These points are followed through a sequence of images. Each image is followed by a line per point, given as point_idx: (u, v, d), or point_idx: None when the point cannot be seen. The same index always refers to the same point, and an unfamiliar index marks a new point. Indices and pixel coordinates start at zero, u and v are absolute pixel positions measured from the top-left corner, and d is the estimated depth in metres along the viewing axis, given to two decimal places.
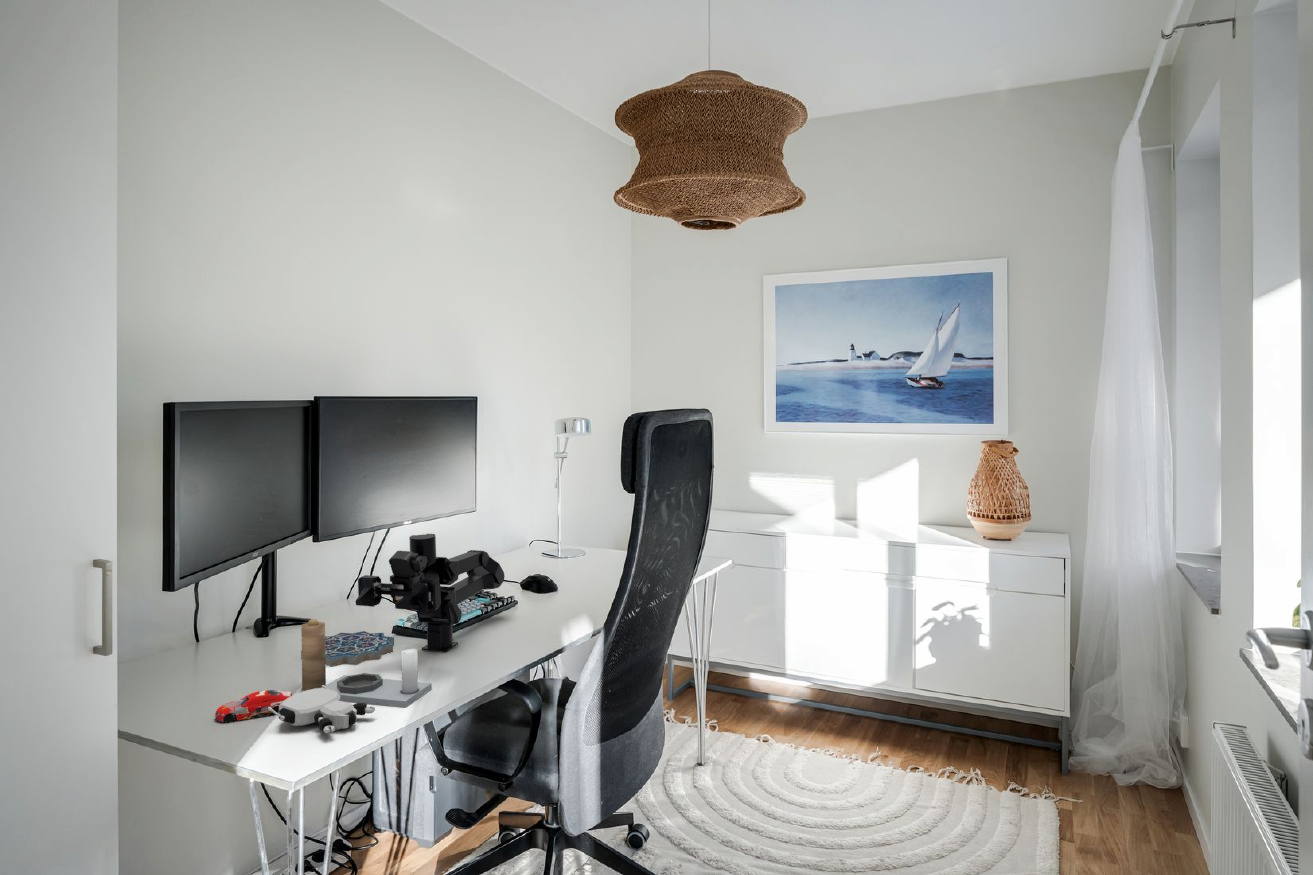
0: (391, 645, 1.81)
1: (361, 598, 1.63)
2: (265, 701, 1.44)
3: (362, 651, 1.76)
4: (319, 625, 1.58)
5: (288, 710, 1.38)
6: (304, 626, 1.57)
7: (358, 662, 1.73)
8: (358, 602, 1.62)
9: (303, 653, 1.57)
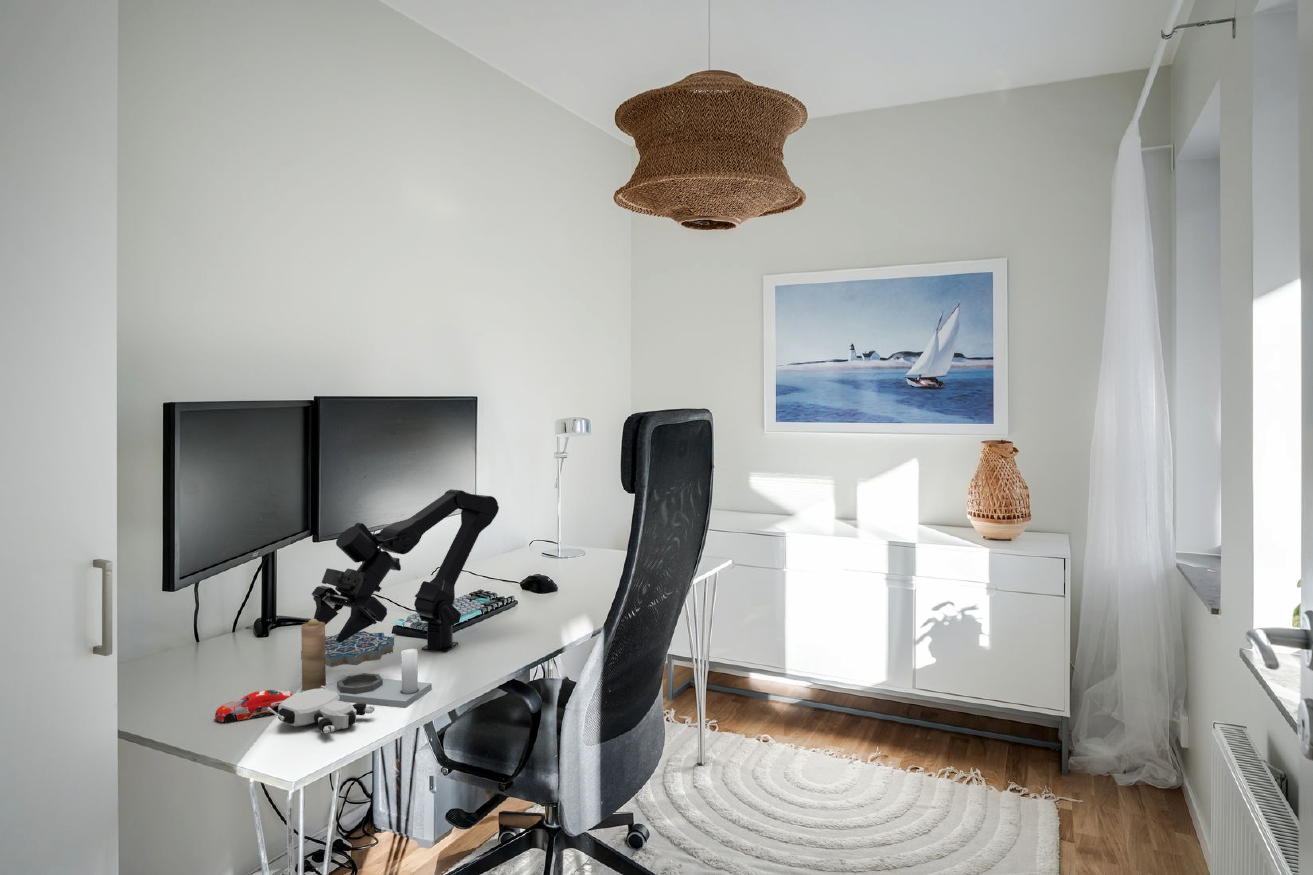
0: (391, 645, 1.81)
1: None
2: (266, 701, 1.44)
3: (362, 651, 1.76)
4: (319, 625, 1.58)
5: (287, 710, 1.38)
6: (304, 626, 1.57)
7: (358, 662, 1.73)
8: None
9: (303, 653, 1.57)
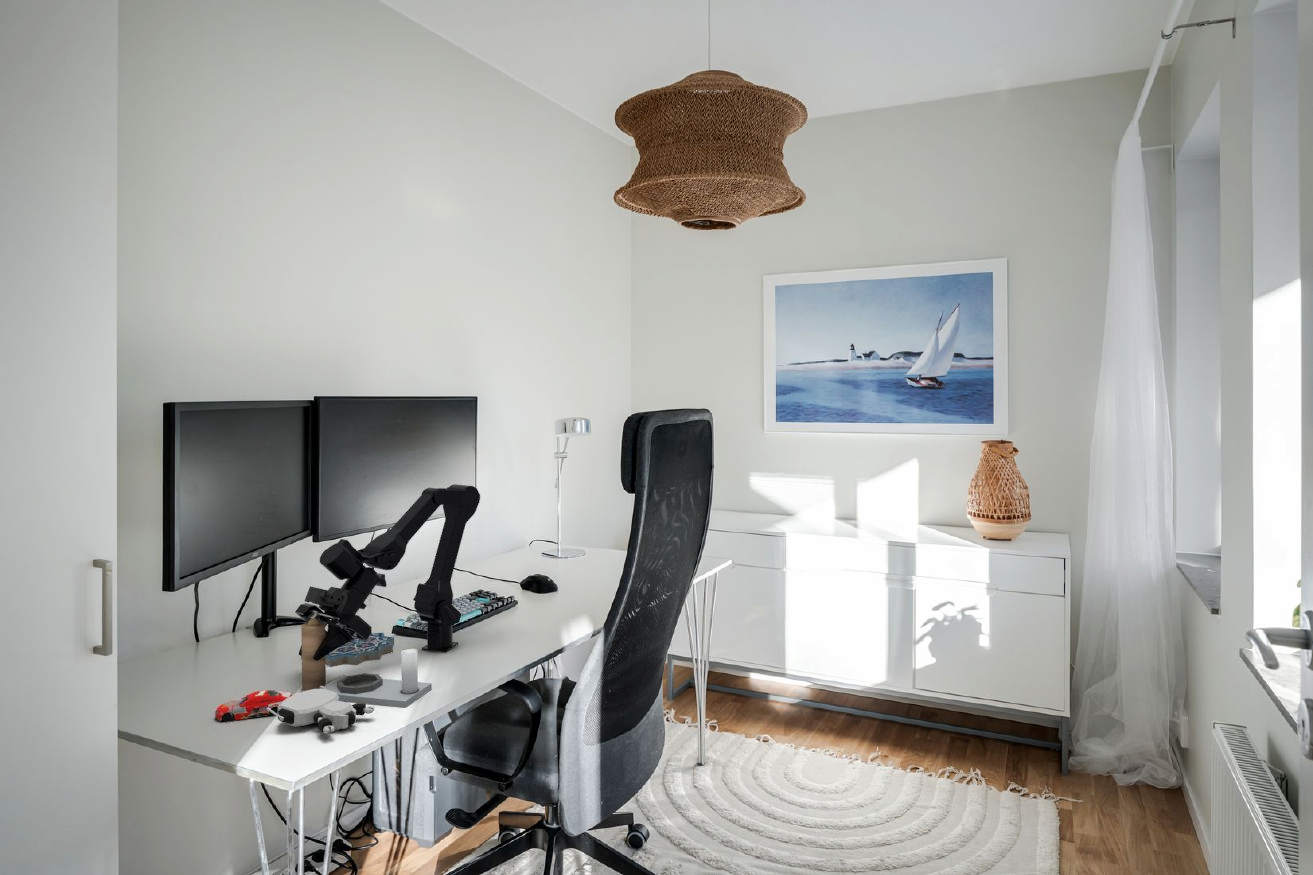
0: (391, 645, 1.81)
1: None
2: (264, 701, 1.44)
3: (362, 651, 1.76)
4: (319, 625, 1.57)
5: (287, 710, 1.37)
6: (304, 626, 1.57)
7: (358, 662, 1.73)
8: None
9: (303, 653, 1.57)
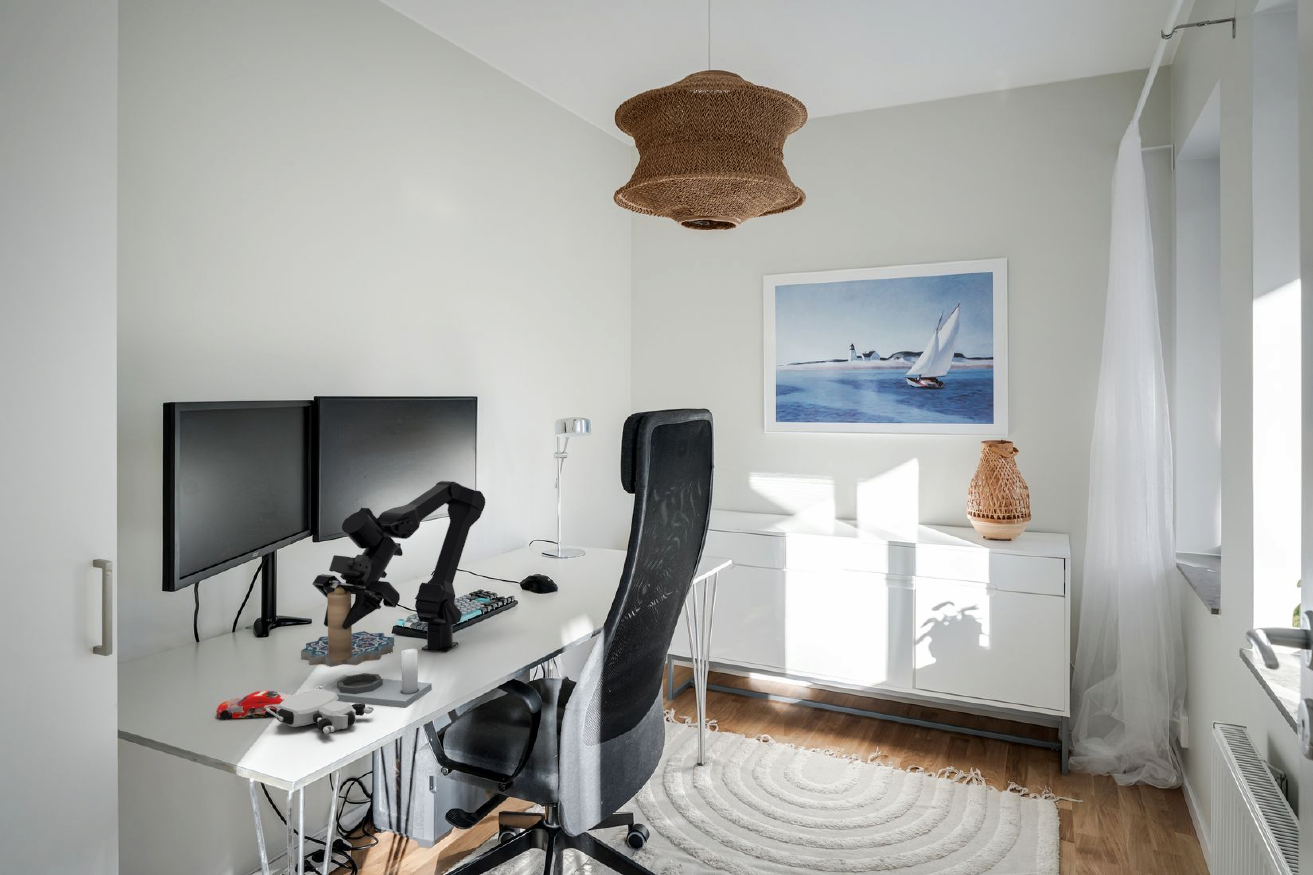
0: (391, 645, 1.81)
1: None
2: (260, 702, 1.44)
3: (362, 651, 1.76)
4: (346, 594, 1.56)
5: (286, 711, 1.37)
6: (331, 595, 1.54)
7: (358, 662, 1.73)
8: (327, 624, 1.56)
9: (330, 622, 1.54)
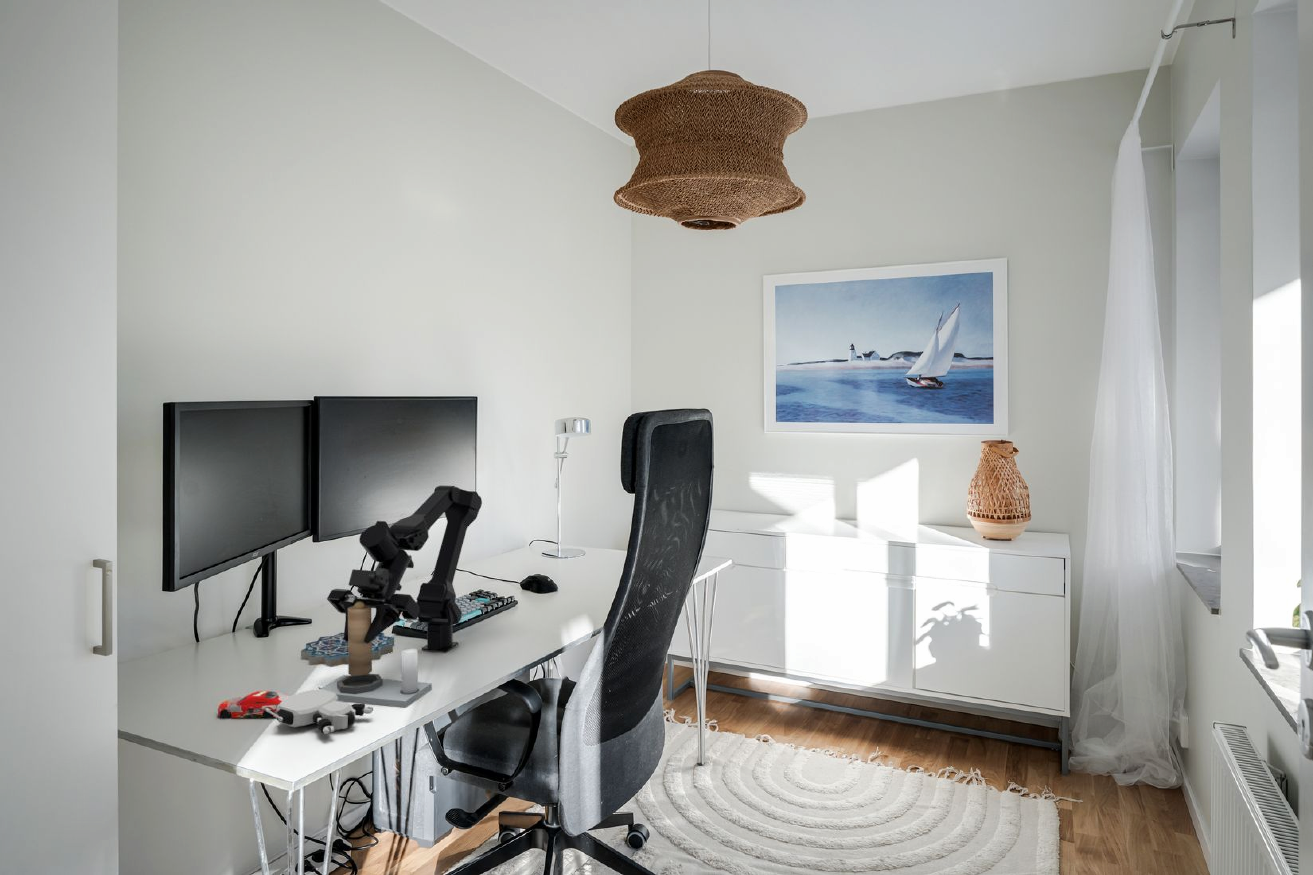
0: (391, 645, 1.81)
1: None
2: (258, 703, 1.43)
3: None
4: (367, 607, 1.56)
5: (286, 711, 1.37)
6: (352, 609, 1.54)
7: None
8: (347, 638, 1.56)
9: (352, 637, 1.54)
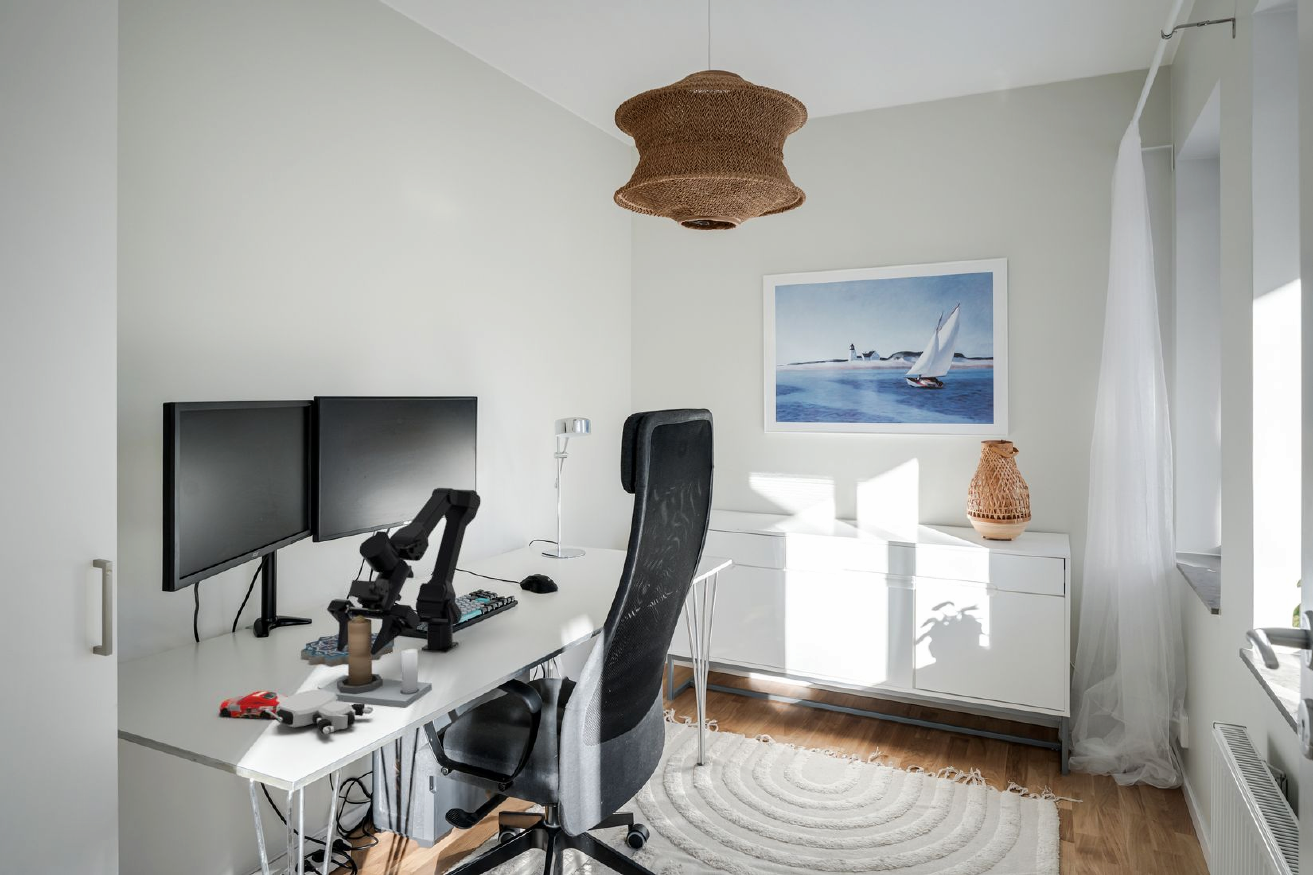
0: (391, 645, 1.81)
1: (341, 642, 1.56)
2: (256, 703, 1.43)
3: None
4: (367, 621, 1.56)
5: (285, 711, 1.37)
6: (352, 623, 1.54)
7: None
8: (340, 648, 1.56)
9: (352, 651, 1.54)
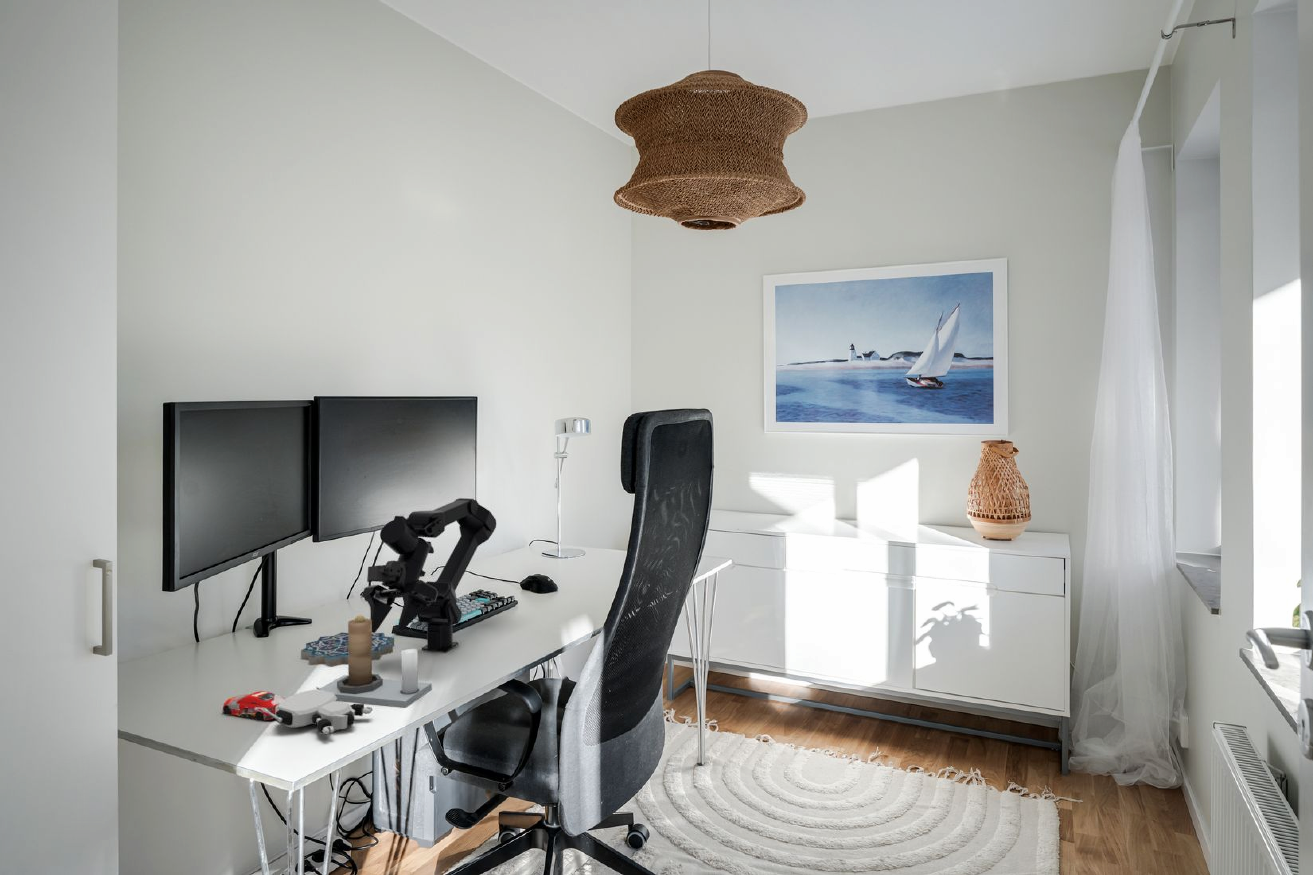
0: (391, 645, 1.81)
1: (373, 624, 1.68)
2: (253, 703, 1.43)
3: None
4: (367, 621, 1.56)
5: (285, 711, 1.37)
6: (353, 623, 1.54)
7: None
8: (373, 630, 1.67)
9: (352, 651, 1.54)
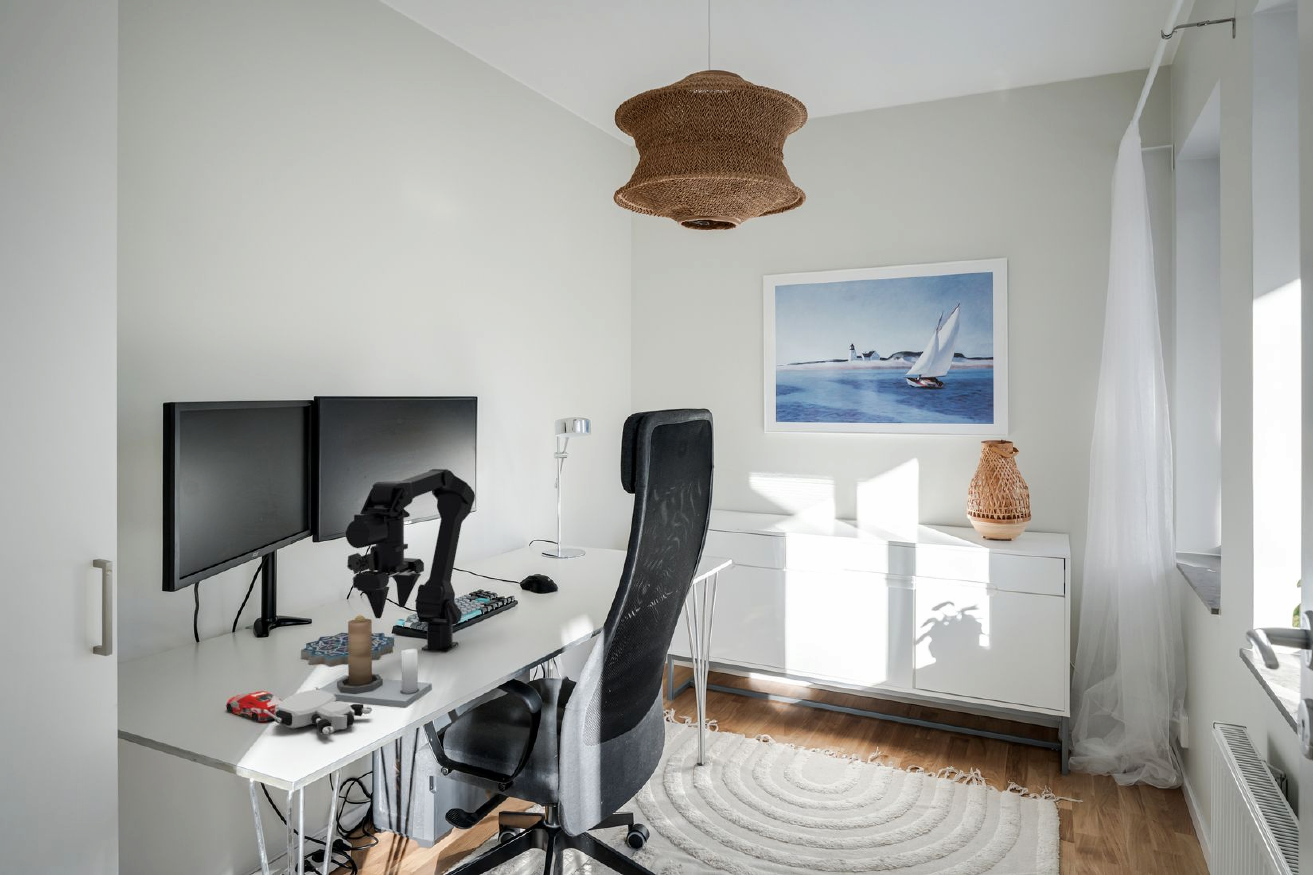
0: (391, 645, 1.81)
1: (399, 600, 1.72)
2: (250, 703, 1.43)
3: None
4: (367, 621, 1.56)
5: (284, 712, 1.37)
6: (353, 623, 1.54)
7: None
8: (401, 605, 1.72)
9: (352, 651, 1.54)
